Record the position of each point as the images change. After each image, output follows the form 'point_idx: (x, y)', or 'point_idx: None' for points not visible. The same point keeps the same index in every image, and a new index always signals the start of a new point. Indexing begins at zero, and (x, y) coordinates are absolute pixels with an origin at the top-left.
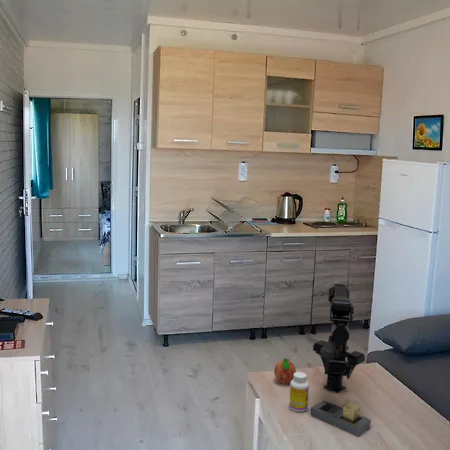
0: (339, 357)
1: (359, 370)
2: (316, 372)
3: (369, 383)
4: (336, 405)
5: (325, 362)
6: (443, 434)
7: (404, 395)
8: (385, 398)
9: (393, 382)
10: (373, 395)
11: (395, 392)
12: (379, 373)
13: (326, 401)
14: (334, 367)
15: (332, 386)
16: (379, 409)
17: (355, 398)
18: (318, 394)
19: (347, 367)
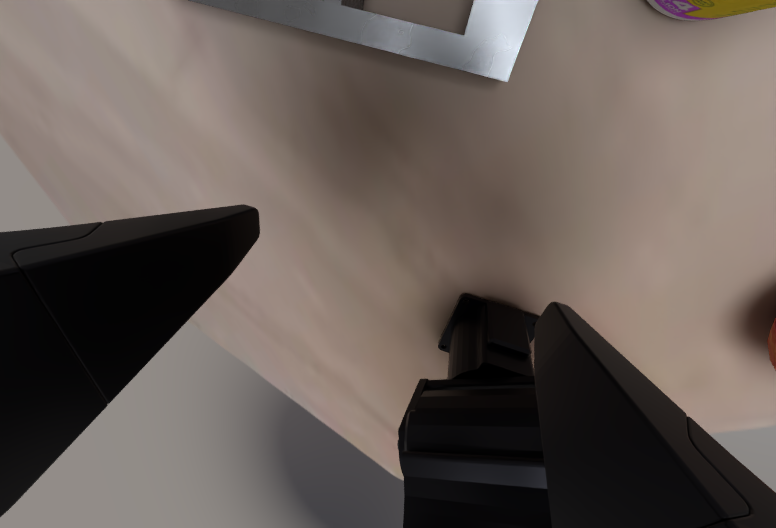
0: (452, 517)
1: None
2: None
3: (372, 391)
4: (388, 50)
5: (615, 408)
6: (21, 155)
7: (253, 352)
8: (284, 317)
9: (315, 409)
10: (326, 323)
11: (282, 361)
12: (370, 444)
13: (477, 71)
14: (486, 413)
15: (489, 313)
16: None
17: (372, 277)
18: (559, 241)
19: (53, 258)
